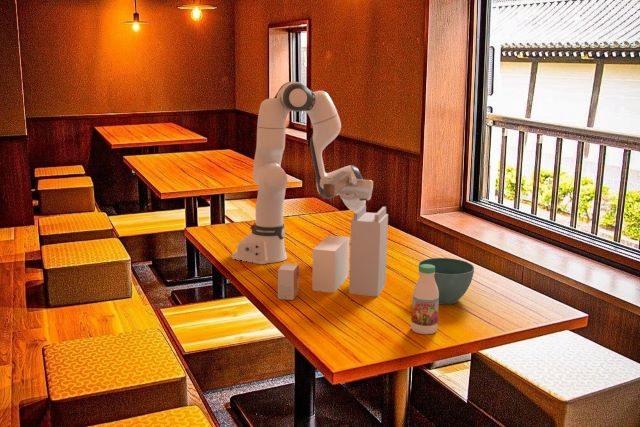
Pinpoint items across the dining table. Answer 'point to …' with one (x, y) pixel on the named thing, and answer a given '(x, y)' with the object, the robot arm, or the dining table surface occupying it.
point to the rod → (336, 183)
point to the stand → (368, 252)
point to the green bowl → (451, 278)
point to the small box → (288, 281)
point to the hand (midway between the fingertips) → (342, 177)
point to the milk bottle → (425, 302)
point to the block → (330, 263)
